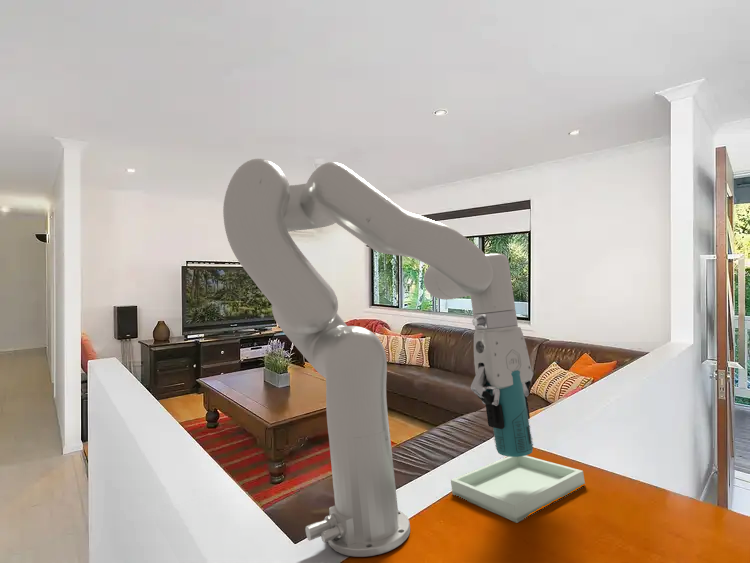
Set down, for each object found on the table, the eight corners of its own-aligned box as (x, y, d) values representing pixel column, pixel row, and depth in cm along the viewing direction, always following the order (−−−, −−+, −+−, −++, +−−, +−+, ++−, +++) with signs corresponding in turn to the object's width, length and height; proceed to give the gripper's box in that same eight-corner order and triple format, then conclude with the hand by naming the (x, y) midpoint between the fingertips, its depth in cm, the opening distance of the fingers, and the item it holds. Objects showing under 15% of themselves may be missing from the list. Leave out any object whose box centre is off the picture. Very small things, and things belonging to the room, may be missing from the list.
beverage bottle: (538, 465, 68) (521, 345, 70) (498, 467, 69) (481, 349, 71) (531, 452, 74) (515, 342, 76) (494, 453, 76) (479, 346, 77)
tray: (516, 522, 60) (514, 505, 61) (452, 494, 72) (450, 479, 72) (585, 485, 70) (582, 470, 70) (518, 465, 82) (516, 452, 82)
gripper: (477, 326, 66) (492, 439, 64) (542, 316, 75) (557, 415, 74) (446, 328, 72) (459, 431, 71) (510, 318, 82) (523, 409, 80)
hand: (509, 421), depth 72 cm, fingers closed on beverage bottle, 6 cm apart
